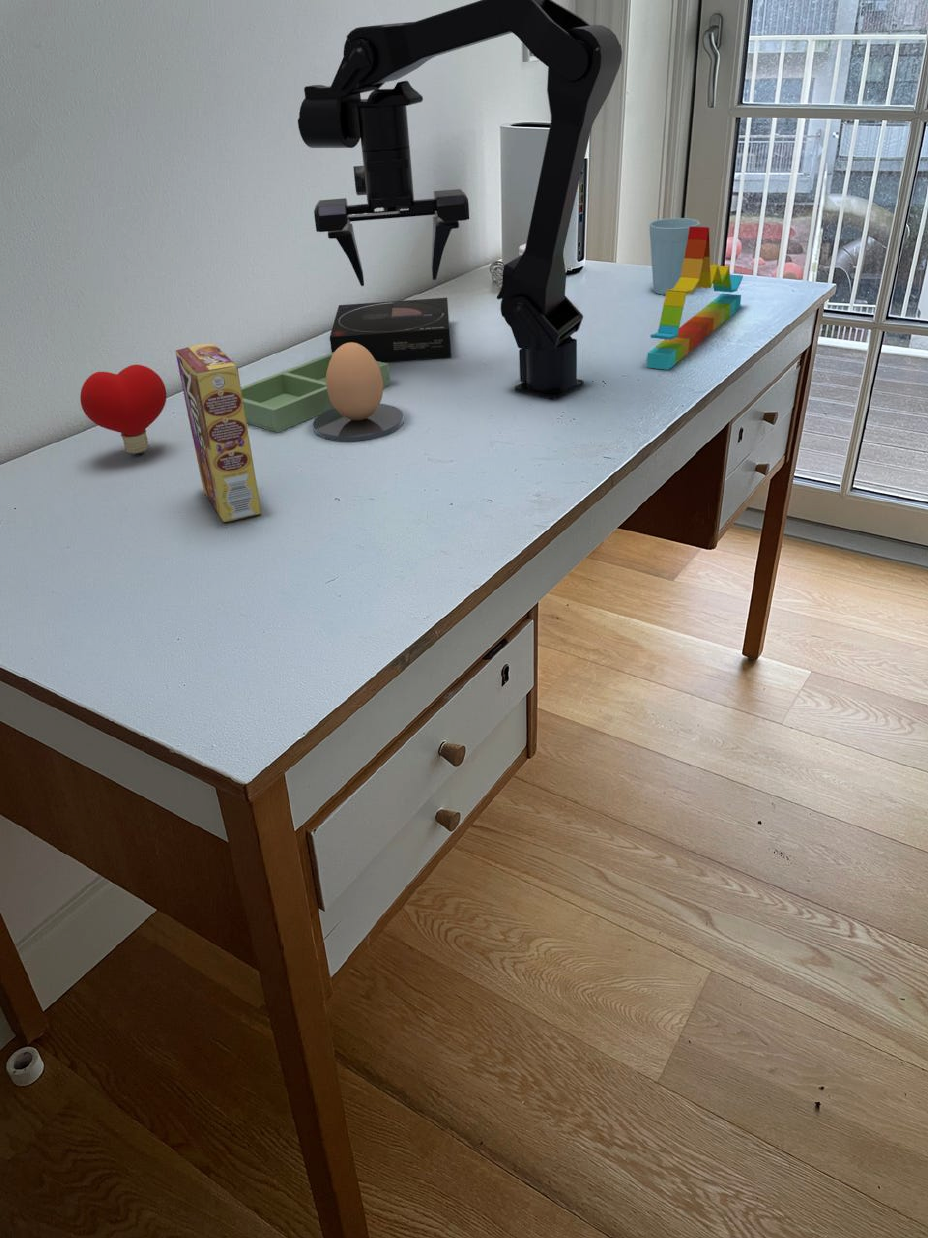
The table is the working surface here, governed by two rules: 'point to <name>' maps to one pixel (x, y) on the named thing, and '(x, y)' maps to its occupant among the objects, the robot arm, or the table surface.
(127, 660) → the table surface
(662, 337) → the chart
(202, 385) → the candy box
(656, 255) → the cup
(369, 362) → the egg
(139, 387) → the light bulb
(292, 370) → the tray
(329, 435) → the coaster
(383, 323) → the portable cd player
